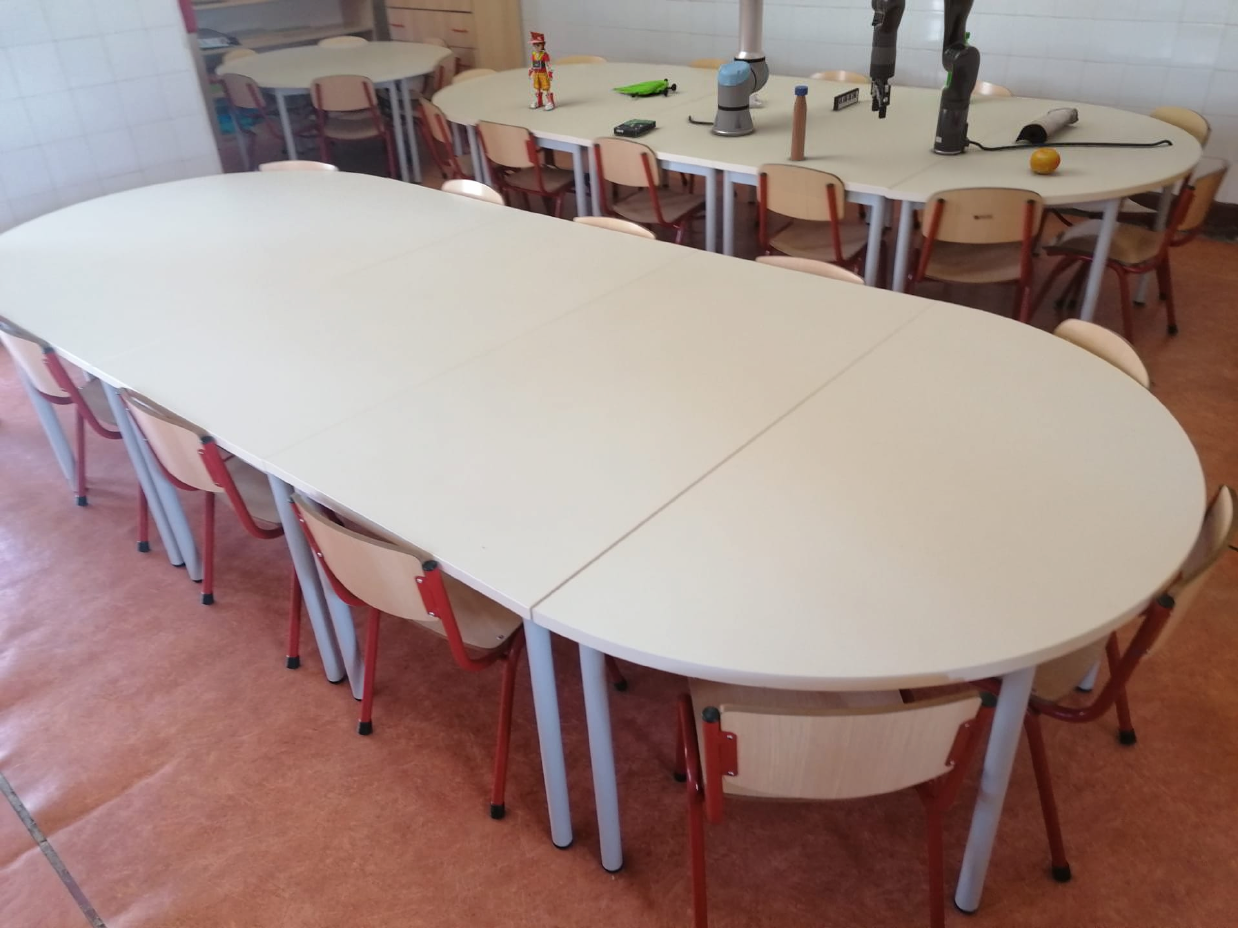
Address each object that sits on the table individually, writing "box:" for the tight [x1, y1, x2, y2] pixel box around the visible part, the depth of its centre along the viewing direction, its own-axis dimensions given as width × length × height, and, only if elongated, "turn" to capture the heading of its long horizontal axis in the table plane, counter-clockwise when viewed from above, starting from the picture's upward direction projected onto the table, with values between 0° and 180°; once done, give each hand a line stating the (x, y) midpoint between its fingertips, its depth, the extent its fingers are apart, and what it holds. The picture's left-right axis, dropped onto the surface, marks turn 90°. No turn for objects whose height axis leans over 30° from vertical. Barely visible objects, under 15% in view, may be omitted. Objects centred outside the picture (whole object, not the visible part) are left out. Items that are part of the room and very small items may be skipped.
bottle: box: [790, 95, 808, 162], centre depth 298 cm, size 4×4×23 cm
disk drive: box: [613, 118, 657, 138], centre depth 342 cm, size 10×3×15 cm
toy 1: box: [527, 31, 556, 111], centre depth 374 cm, size 12×9×30 cm
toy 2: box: [612, 78, 677, 99], centre depth 396 cm, size 28×5×30 cm
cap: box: [794, 85, 809, 97], centre depth 292 cm, size 4×4×2 cm
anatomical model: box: [749, 92, 763, 109], centre depth 366 cm, size 15×10×10 cm
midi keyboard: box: [832, 87, 860, 111], centre depth 357 cm, size 18×1×5 cm, turn 138°
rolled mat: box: [1014, 107, 1080, 144], centre depth 311 cm, size 30×9×10 cm
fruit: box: [1029, 147, 1062, 174], centre depth 277 cm, size 8×8×8 cm
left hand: (882, 43), depth 307 cm, fingers open, 13 cm apart
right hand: (878, 114), depth 286 cm, fingers open, 8 cm apart
